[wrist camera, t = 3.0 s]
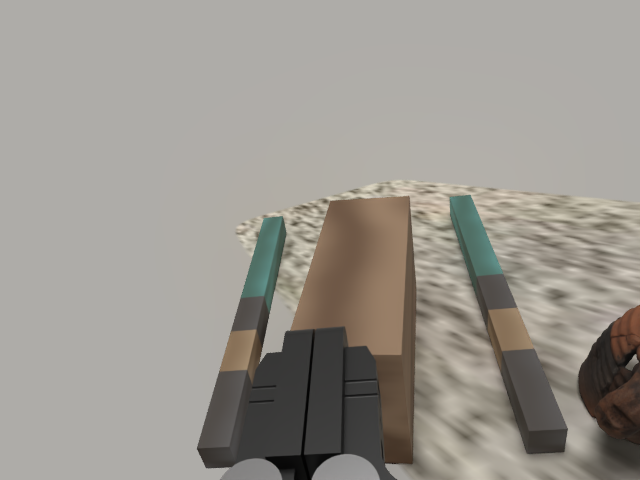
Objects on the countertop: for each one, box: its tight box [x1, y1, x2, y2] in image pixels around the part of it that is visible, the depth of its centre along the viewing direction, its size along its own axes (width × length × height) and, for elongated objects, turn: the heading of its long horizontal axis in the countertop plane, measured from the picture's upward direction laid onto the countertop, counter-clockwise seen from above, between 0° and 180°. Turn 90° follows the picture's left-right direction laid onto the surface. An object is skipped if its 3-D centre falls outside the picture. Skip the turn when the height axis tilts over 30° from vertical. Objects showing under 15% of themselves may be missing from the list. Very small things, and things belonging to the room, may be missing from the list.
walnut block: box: [290, 196, 416, 465], centre depth 34 cm, size 6×16×9 cm, turn 170°
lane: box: [197, 195, 568, 468], centre depth 40 cm, size 21×27×2 cm
